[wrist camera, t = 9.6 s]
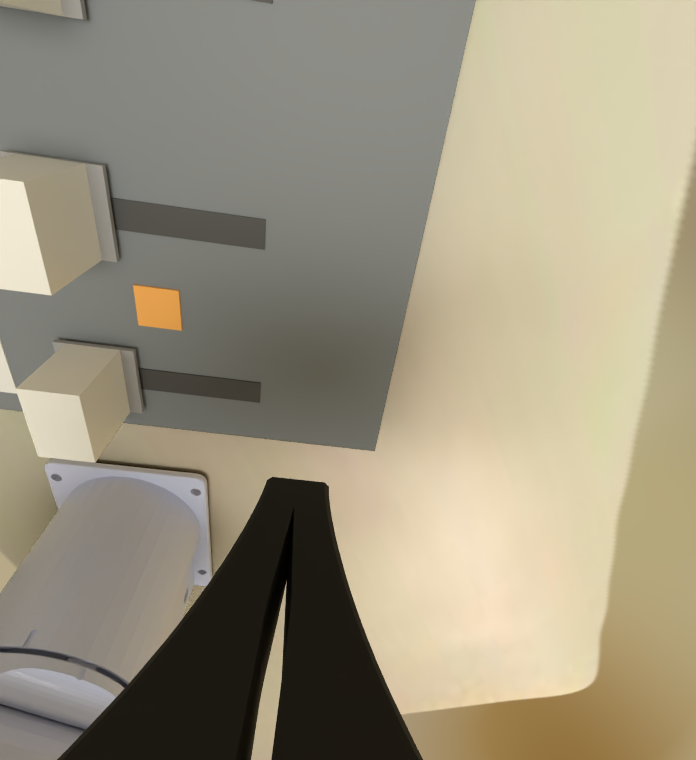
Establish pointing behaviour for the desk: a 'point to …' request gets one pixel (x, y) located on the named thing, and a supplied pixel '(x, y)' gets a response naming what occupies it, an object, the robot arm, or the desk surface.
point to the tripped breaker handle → (52, 221)
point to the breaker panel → (239, 198)
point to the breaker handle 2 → (80, 399)
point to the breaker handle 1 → (50, 7)
